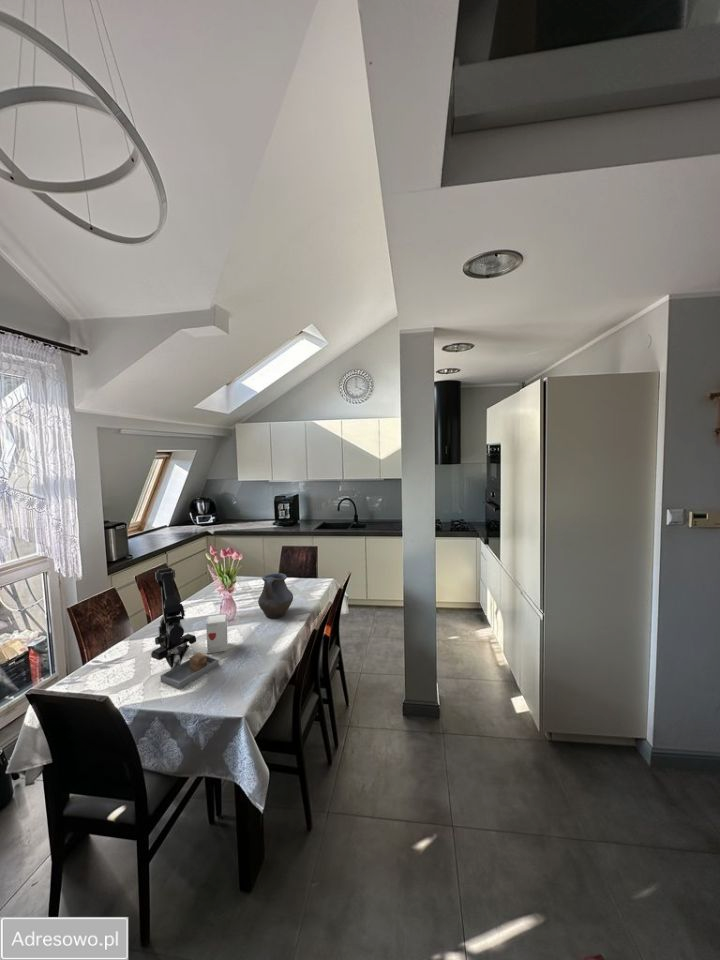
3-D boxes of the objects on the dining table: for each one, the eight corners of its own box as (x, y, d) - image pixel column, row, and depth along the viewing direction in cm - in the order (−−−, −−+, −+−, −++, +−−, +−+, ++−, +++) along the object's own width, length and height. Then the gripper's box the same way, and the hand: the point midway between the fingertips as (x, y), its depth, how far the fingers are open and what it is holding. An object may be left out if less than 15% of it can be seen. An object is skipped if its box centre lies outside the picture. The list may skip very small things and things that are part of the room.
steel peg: (176, 664, 176) (176, 651, 176) (182, 666, 175) (181, 653, 174) (168, 668, 173) (168, 655, 173) (174, 670, 171) (173, 657, 171)
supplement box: (206, 654, 185) (205, 623, 184) (208, 645, 194) (207, 616, 193) (227, 651, 188) (225, 621, 187) (228, 642, 196) (226, 613, 195)
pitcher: (297, 608, 238) (296, 568, 237) (287, 623, 217) (286, 580, 215) (265, 608, 240) (263, 568, 239) (252, 623, 219) (250, 579, 217)
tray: (200, 659, 181) (200, 653, 180) (218, 665, 175) (218, 659, 175) (160, 681, 163) (160, 675, 163) (179, 689, 157) (179, 682, 157)
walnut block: (199, 663, 176) (198, 652, 176) (206, 665, 174) (206, 655, 173) (189, 668, 171) (189, 657, 171) (197, 671, 169) (197, 660, 169)
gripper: (180, 619, 185) (181, 651, 186) (142, 636, 168) (144, 670, 169) (196, 623, 179) (197, 656, 180) (158, 641, 163) (160, 677, 164)
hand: (175, 664), depth 174 cm, fingers closed on steel peg, 4 cm apart
